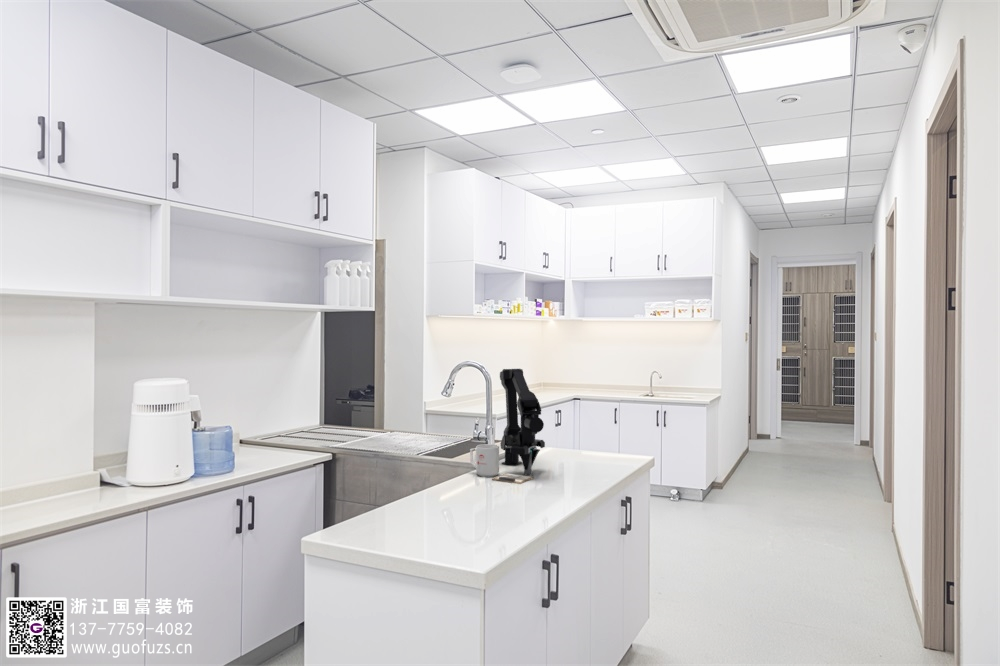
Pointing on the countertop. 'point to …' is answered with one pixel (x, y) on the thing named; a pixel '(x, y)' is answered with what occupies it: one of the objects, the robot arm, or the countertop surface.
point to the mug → (486, 460)
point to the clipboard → (513, 478)
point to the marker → (529, 470)
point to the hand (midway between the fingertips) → (527, 468)
